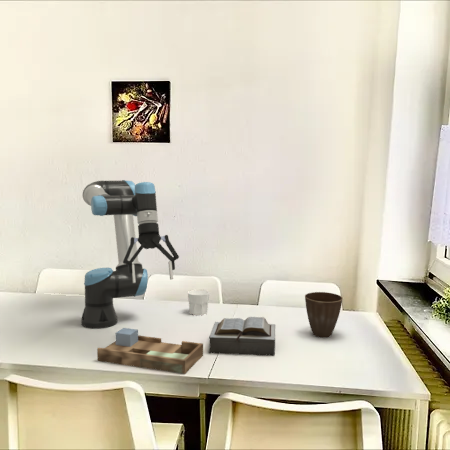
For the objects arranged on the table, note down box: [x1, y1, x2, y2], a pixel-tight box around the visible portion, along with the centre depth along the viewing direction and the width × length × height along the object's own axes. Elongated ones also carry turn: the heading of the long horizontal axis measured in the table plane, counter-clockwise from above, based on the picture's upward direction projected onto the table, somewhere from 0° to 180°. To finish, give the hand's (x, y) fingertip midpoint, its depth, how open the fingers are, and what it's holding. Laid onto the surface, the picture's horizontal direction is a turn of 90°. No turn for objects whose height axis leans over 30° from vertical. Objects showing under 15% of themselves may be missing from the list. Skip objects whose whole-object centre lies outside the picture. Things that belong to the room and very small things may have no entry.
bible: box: [208, 316, 276, 357], centre depth 195 cm, size 23×27×10 cm
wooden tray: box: [96, 334, 204, 375], centre depth 181 cm, size 33×17×4 cm, turn 72°
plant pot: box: [304, 291, 344, 339], centre depth 207 cm, size 15×15×16 cm
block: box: [115, 327, 139, 347], centre depth 188 cm, size 6×6×4 cm
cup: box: [187, 289, 211, 317], centre depth 235 cm, size 10×10×10 cm
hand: (153, 281), depth 186 cm, fingers open, 13 cm apart
